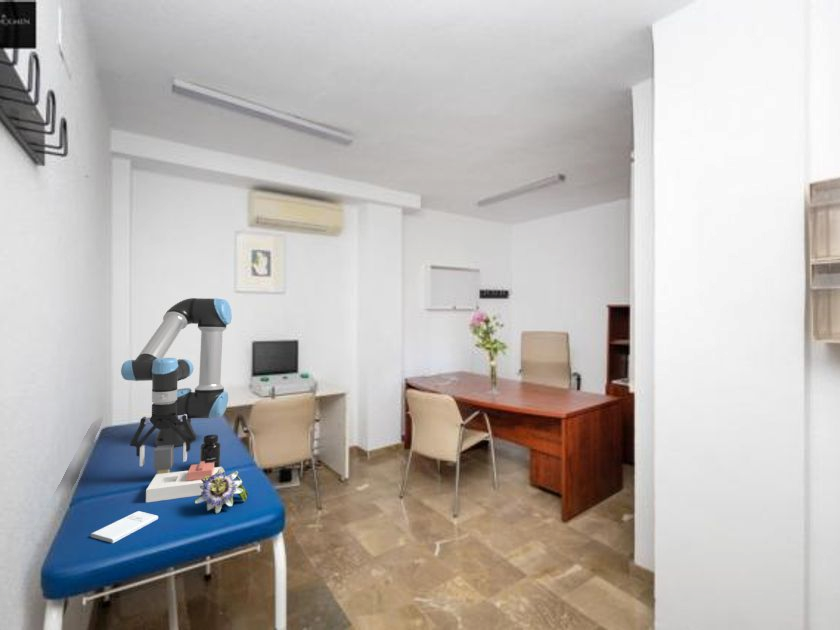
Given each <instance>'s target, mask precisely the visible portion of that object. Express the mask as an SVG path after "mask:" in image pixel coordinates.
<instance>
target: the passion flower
mask: <svg viewBox="0 0 840 630" xmlns="http://www.w3.org/2000/svg"><path fill="white" fill-rule="evenodd" d="M238 474H239V472H238V471H237V470H236V471H234V472H231V473H230V474H227V473H226V472H225V469H224V468H223V467H222V468H220V469H219V470H218V472H217V473H215V474H214V475H213V476H212V477H211V476H210V477H209V476H206V477H205V480H203V479H202V478H201V480H202V482H203V485H201V486H200V488H201V489H203V490H204V491H203V492H201V495H198V497H196V498H195V500H194V501H193V504H201V503H203V502H205V503H206V511H207V512H208V511H211V510H214V512H215V514H219V513H220V512H221V509H222V507H223V505H226V506H227V507H230V508H231V507H233V504H234V496H235V495H238V497H240V498H241V500H242V502H246V501H247V498H248V497H247V496H249V492H248V491H247V490H246V489H245V487H244V486H243V485H242V483H243V481H242V480H243V479H241V478H240V477H239V475H238ZM236 479H237V480H236Z"/></svg>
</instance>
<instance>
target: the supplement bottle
mask: <svg viewBox="0 0 840 630" xmlns="http://www.w3.org/2000/svg"><path fill="white" fill-rule="evenodd" d="M221 445H222V444H221V443H220V442H219V435H218V434H208V435H205V436H203V443H202V444H201V445H200V451H199V452H200V453H199V463H200V462H201V461H205V463H213V462H214V468H215V467H221V448H222V447H221Z"/></svg>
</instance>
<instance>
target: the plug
mask: <svg viewBox="0 0 840 630" xmlns="http://www.w3.org/2000/svg"><path fill="white" fill-rule="evenodd" d="M174 464H175V447H174V444H173V445H162V446H156V448H154V450H153V472H154V471H155V472H157V473H156V474H163V473H171V469H172V467H173V465H174Z"/></svg>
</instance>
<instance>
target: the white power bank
mask: <svg viewBox="0 0 840 630" xmlns="http://www.w3.org/2000/svg"><path fill="white" fill-rule="evenodd" d="M158 519H159V515H156V514H153V513H148V512H144V511H140V510H138V511H135V512H133V513H131V514H129V515H127V516H125V517H123V518H121V519H120V518H119V519H118V520H115V521H114V522H112V523H110V524H108V525H106V526H104V527H101V528H100V529H98V530H95V531H93V532H91V534H90V538H92V539H97V540H99V541H104V542H108V543H111V544H114V543H116V542H118V541H120V540H121V539H123V538H125V537H127V536H130V535H131V534H132V533H135V532H137V531H139V530H140V529H142V528H144V527H146V526H148V525H150V524H151V523H153V522H155V521H157V520H158Z"/></svg>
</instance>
